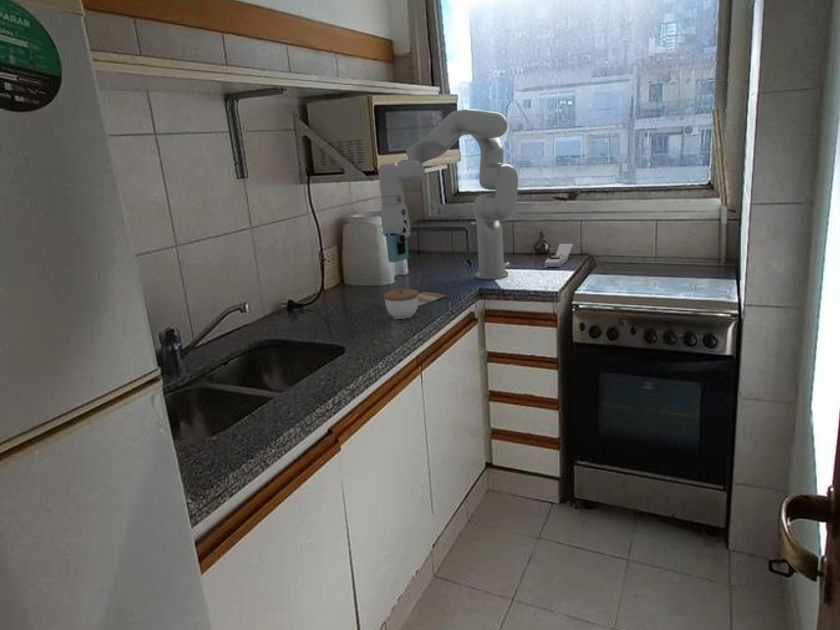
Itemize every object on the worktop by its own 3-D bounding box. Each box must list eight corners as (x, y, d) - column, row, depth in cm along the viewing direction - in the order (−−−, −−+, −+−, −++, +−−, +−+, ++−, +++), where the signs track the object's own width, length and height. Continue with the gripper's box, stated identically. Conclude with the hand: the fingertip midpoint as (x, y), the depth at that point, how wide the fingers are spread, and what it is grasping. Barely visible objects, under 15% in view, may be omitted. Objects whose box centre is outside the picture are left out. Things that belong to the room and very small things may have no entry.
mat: (424, 293, 219) (424, 291, 219) (447, 297, 212) (447, 295, 212) (392, 304, 209) (392, 302, 208) (415, 308, 201) (415, 306, 201)
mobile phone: (573, 243, 259) (556, 254, 238) (573, 257, 261) (557, 269, 240) (559, 243, 262) (541, 254, 241) (559, 257, 264) (542, 269, 243)
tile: (388, 261, 212) (385, 236, 209) (402, 257, 217) (400, 232, 214) (394, 262, 210) (391, 236, 207) (408, 258, 214) (406, 232, 212)
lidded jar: (426, 313, 194) (424, 285, 191) (407, 323, 185) (405, 293, 183) (398, 310, 200) (396, 283, 197) (379, 320, 191) (376, 291, 189)
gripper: (417, 199, 204) (422, 253, 209) (384, 198, 215) (390, 250, 221) (401, 202, 199) (406, 257, 204) (368, 201, 210) (374, 254, 216)
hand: (398, 253), depth 212 cm, fingers closed on tile, 3 cm apart
